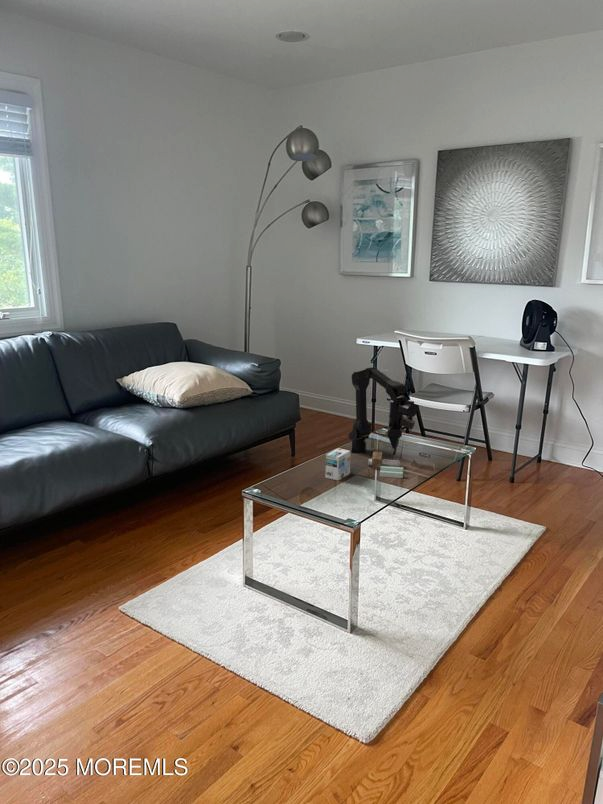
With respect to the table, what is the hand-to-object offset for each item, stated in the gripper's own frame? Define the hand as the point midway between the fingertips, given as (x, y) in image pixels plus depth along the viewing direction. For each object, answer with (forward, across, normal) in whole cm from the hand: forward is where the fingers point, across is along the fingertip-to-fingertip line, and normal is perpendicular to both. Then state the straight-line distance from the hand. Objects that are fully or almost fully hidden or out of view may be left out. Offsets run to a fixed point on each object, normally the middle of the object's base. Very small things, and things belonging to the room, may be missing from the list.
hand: (394, 445), depth 276 cm
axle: (+10, 0, +4) cm, 11 cm away
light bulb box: (+10, -16, +23) cm, 30 cm away
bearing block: (+10, 0, +7) cm, 13 cm away
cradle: (+10, -10, 0) cm, 14 cm away
